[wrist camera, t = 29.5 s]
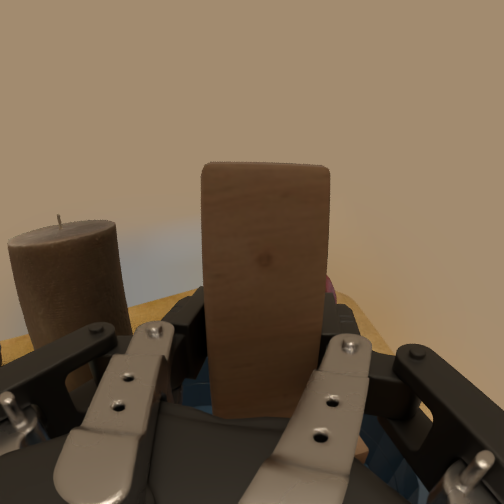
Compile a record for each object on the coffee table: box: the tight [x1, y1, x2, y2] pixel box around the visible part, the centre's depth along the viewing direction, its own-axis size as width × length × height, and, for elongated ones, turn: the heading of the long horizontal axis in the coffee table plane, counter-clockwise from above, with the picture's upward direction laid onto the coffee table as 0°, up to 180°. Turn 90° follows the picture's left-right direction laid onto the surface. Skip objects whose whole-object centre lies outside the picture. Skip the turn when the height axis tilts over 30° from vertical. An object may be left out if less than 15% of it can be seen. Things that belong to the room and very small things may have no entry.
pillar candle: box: [7, 214, 133, 392], centre depth 21 cm, size 10×10×15 cm
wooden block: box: [201, 162, 369, 464], centre depth 10 cm, size 7×3×15 cm, turn 100°
